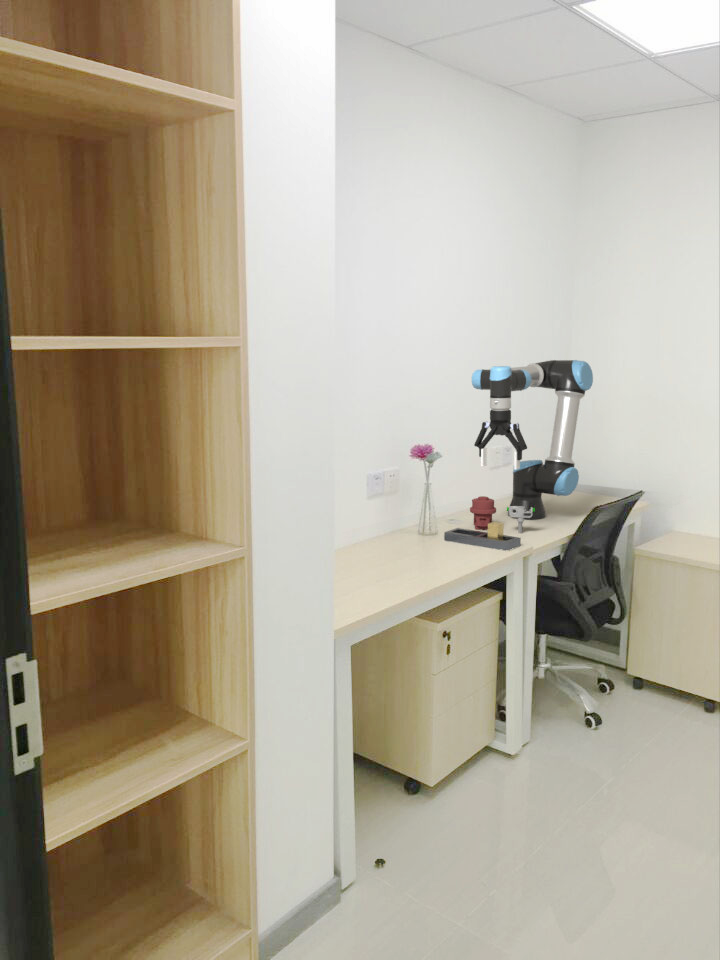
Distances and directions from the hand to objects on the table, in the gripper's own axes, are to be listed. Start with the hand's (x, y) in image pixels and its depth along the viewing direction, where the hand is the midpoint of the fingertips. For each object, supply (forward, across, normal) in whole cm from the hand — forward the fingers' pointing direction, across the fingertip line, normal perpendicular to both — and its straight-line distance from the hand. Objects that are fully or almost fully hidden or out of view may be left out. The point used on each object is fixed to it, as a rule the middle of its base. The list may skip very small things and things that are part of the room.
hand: (500, 467), depth 306 cm
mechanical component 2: (+26, -12, +8) cm, 30 cm away
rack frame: (+25, 0, -14) cm, 29 cm away
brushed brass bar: (+26, +6, -14) cm, 30 cm away
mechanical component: (+26, +3, +9) cm, 28 cm away
